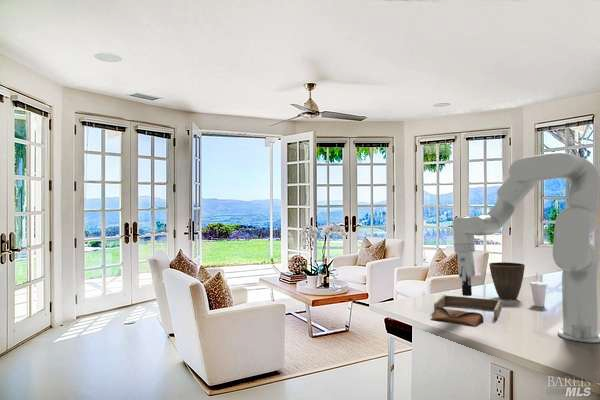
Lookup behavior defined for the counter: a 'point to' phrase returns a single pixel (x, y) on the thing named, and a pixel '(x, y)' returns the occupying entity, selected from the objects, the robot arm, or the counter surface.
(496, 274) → the plant pot
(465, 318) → the sunglasses case
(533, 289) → the smoothie
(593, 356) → the counter surface
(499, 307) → the walnut bracket
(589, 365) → the counter surface
